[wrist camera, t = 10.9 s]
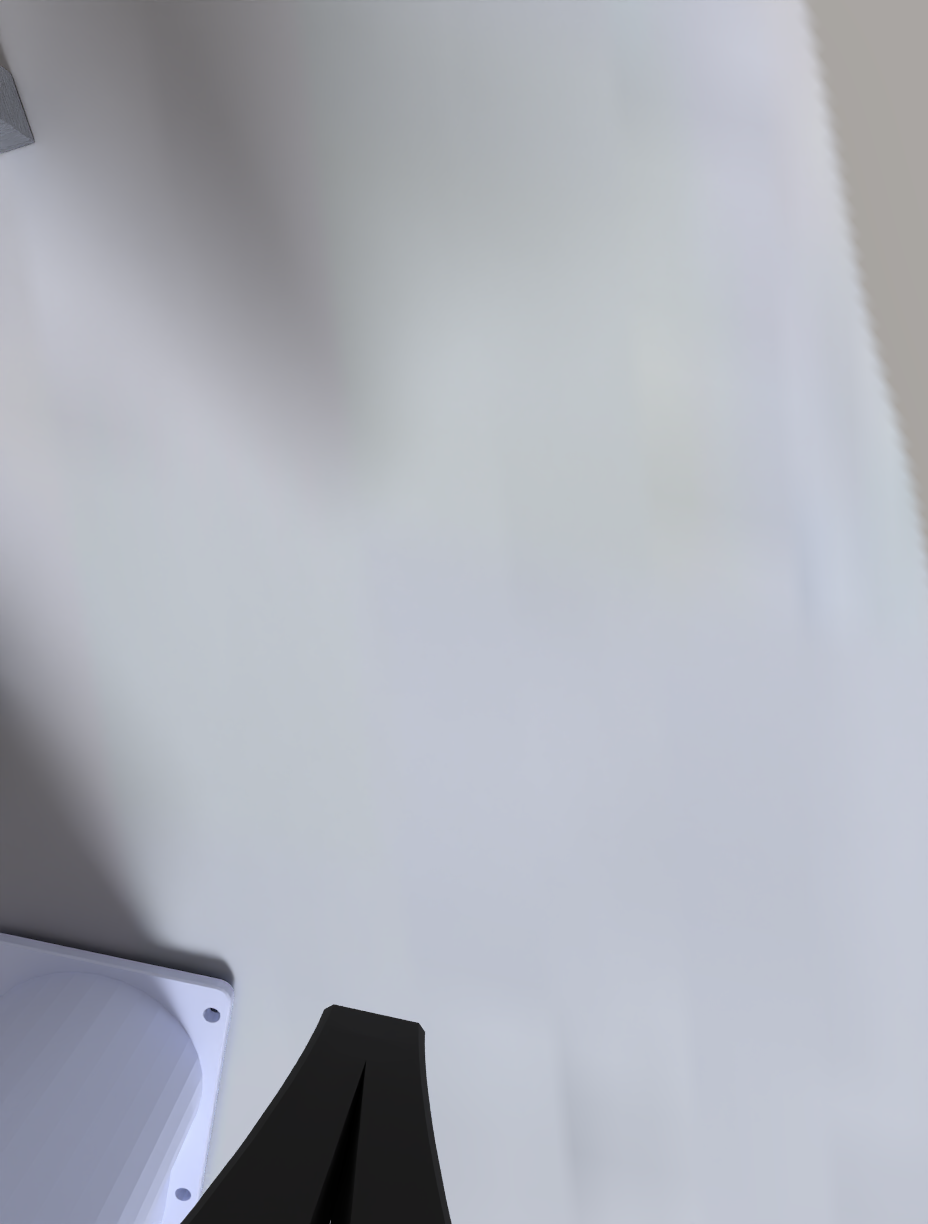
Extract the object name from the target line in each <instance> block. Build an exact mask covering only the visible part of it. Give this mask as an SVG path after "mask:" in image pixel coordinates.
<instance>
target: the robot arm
mask: <svg viewBox="0 0 928 1224" xmlns="http://www.w3.org/2000/svg"><path fill="white" fill-rule="evenodd" d="M233 1001H234V990H233V988H232V986H231V985H230V984H229V983H228V982H226V981H224V980H221V979H217V978H213V977H208V976H203V975H198V974H194V973H189V972H184V971H179V970H175V969H170V968H165V967H160V966H156V965H151V964H146V963H141V962H137V961H132V960H127V959H123V958H118V957H113V956H108V955H104V954H99V953H94V952H89V951H85V950H80V949H75V948H70V947H66V946H61V945H56V944H52V943H47V942H42V941H37V940H33V939H28V938H23V937H18V936H14V935H9V934H4V933H0V1224H451V1219H450V1215H449V1210H448V1206H447V1201H446V1196H445V1191H444V1186H443V1181H442V1176H441V1170H440V1165H439V1160H438V1155H437V1149H436V1144H435V1138H434V1132H433V1125H432V1118H431V1111H430V1103H429V1096H428V1087H427V1077H426V1065H425V1031H424V1030H423V1028H422V1027H421V1025H420V1024H419V1023H416V1022H411V1021H407V1020H402V1019H398V1018H393V1017H389V1016H384V1015H380V1014H375V1013H370V1012H366V1011H361V1010H357V1009H352V1008H348V1007H343V1006H339V1005H332V1006H330V1007H328V1008H326V1009H324V1011H323V1014H322V1016H321V1018H320V1021H319V1023H318V1025H317V1027H316V1029H315V1031H314V1033H313V1035H312V1037H311V1038H310V1040H309V1042H308V1044H307V1046H306V1048H305V1049H304V1051H303V1053H302V1054H301V1056H300V1058H299V1060H298V1061H297V1063H296V1065H295V1066H294V1068H293V1069H292V1071H291V1073H290V1074H289V1076H288V1077H287V1079H286V1080H285V1082H284V1084H283V1085H282V1087H281V1088H280V1090H279V1091H278V1093H277V1094H276V1096H275V1097H274V1099H273V1100H272V1102H271V1103H270V1105H269V1106H268V1107H267V1109H266V1110H265V1112H264V1113H263V1115H262V1116H261V1118H260V1119H259V1120H258V1122H257V1123H256V1125H255V1126H254V1128H253V1129H252V1131H251V1132H250V1134H249V1135H248V1136H247V1138H246V1139H245V1141H244V1142H243V1143H242V1145H241V1146H240V1147H239V1149H238V1150H237V1152H236V1153H235V1154H234V1156H233V1157H232V1158H231V1159H230V1161H229V1162H228V1163H227V1165H226V1166H225V1167H224V1168H223V1170H222V1171H221V1172H220V1174H219V1175H218V1176H217V1178H216V1179H215V1180H214V1181H213V1183H212V1184H211V1185H210V1187H209V1188H208V1189H207V1190H206V1192H205V1193H204V1194H203V1196H202V1197H201V1192H202V1186H203V1180H204V1174H205V1168H206V1162H207V1156H208V1150H209V1144H210V1138H211V1132H212V1126H213V1121H214V1115H215V1109H216V1103H217V1097H218V1091H219V1085H220V1079H221V1073H222V1067H223V1061H224V1055H225V1049H226V1043H227V1037H228V1031H229V1025H230V1019H231V1013H232V1007H233ZM210 1008H214V1009H216V1010H218V1011H219V1013H215V1012H213V1011H211V1010H210ZM330 1220H331V1223H330Z"/></svg>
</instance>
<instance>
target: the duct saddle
mask: <svg viewBox="0 0 928 1224" xmlns="http://www.w3.org/2000/svg"><path fill="white" fill-rule="evenodd" d="M31 143H35V142H34V139H33V136H32V133H31V130H30V128H29V125H28V122H27V119H26V116H25V113H24V110H23V107H22V104H21V101H20V98H19V95H18V93H17V90H16V87H15V84H14V81H13V78H12V75H11V73H9V72H8V71H7V70H6V69H4V68H3V67H2V66H1V65H0V153H3V152H7V151H10V150H13V149H16V148H19V147H22V146H25V145H28V144H31Z"/></svg>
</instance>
